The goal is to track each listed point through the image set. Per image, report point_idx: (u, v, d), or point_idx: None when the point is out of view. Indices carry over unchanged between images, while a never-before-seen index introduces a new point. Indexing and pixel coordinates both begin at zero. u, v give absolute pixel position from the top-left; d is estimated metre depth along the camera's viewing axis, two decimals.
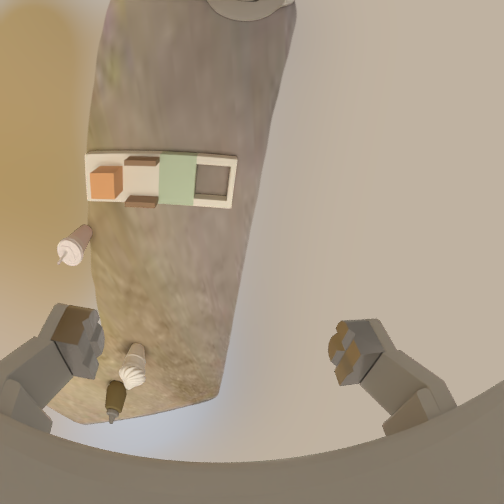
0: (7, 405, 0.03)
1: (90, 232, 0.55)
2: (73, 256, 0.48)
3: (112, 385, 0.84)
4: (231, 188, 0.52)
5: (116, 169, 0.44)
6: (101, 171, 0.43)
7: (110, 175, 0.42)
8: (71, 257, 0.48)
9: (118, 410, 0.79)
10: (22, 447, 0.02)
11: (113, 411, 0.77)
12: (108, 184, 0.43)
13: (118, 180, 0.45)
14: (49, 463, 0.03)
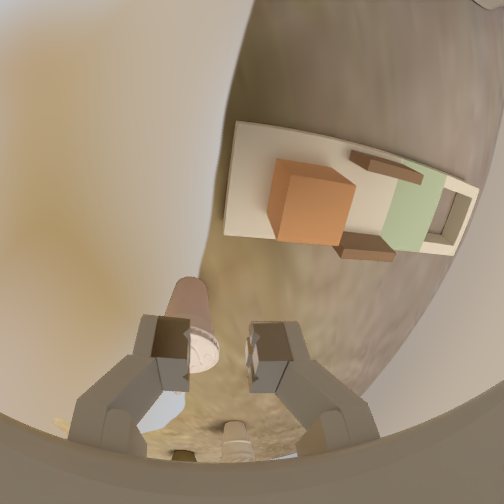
0: (118, 440, 0.04)
1: None
2: (197, 360, 0.24)
3: (180, 457, 0.60)
4: (463, 228, 0.28)
5: (338, 175, 0.20)
6: (313, 174, 0.19)
7: (347, 189, 0.18)
8: (191, 362, 0.24)
9: None
10: (22, 447, 0.02)
11: None
12: (335, 211, 0.19)
13: None
14: (48, 462, 0.03)
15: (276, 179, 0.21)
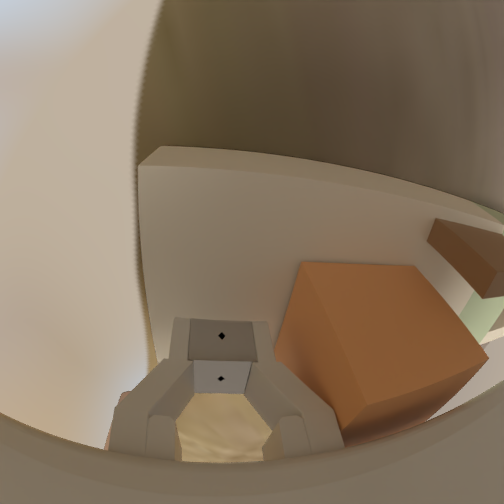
0: (163, 447, 0.04)
1: None
2: None
3: None
4: None
5: (444, 308, 0.07)
6: (412, 349, 0.06)
7: (472, 372, 0.05)
8: None
9: None
10: (22, 447, 0.02)
11: None
12: (431, 408, 0.06)
13: None
14: (49, 462, 0.03)
15: (301, 326, 0.08)
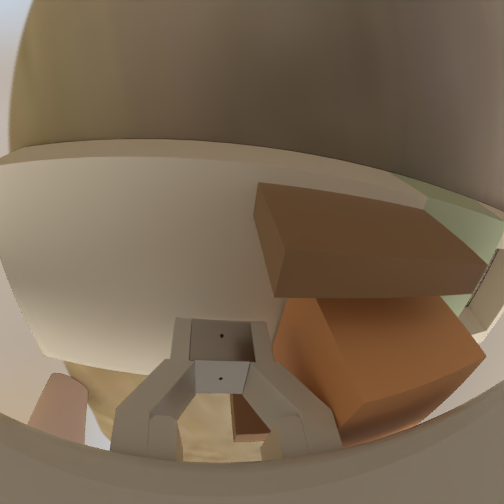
0: (165, 447, 0.04)
1: (83, 398, 0.16)
2: None
3: None
4: None
5: (441, 306, 0.07)
6: (409, 348, 0.06)
7: (469, 369, 0.05)
8: None
9: None
10: (22, 447, 0.02)
11: None
12: (429, 406, 0.06)
13: None
14: (49, 462, 0.03)
15: (298, 325, 0.08)
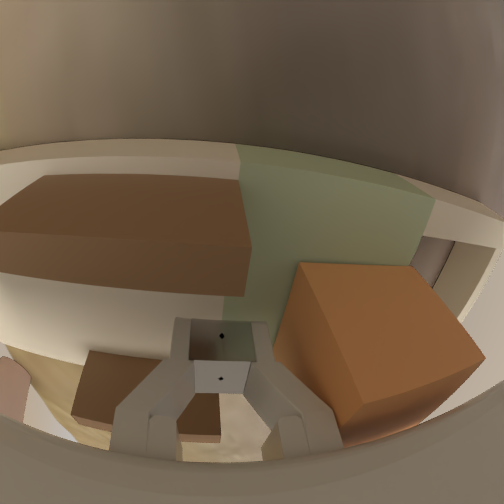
0: (164, 447, 0.04)
1: (24, 381, 0.15)
2: None
3: None
4: (466, 310, 0.12)
5: (441, 308, 0.07)
6: (409, 349, 0.06)
7: (469, 371, 0.05)
8: None
9: None
10: (22, 447, 0.02)
11: None
12: (428, 407, 0.06)
13: None
14: (48, 462, 0.03)
15: (299, 326, 0.08)
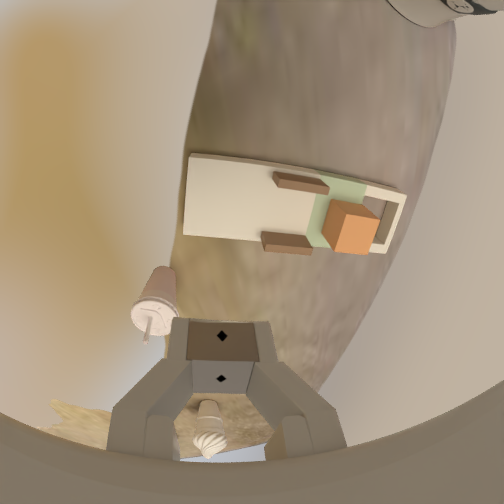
0: (161, 447, 0.04)
1: (175, 279, 0.40)
2: (162, 324, 0.33)
3: None
4: (393, 229, 0.38)
5: (368, 211, 0.33)
6: (356, 212, 0.31)
7: (375, 222, 0.31)
8: (158, 325, 0.33)
9: None
10: (22, 447, 0.02)
11: None
12: (367, 234, 0.32)
13: None
14: (49, 462, 0.03)
15: (331, 213, 0.34)
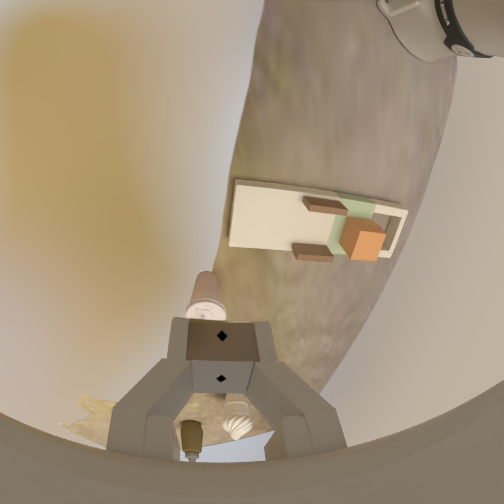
0: (161, 447, 0.04)
1: (217, 282, 0.49)
2: None
3: (188, 426, 0.79)
4: (396, 238, 0.46)
5: (377, 226, 0.41)
6: (368, 228, 0.39)
7: (382, 235, 0.39)
8: None
9: (198, 452, 0.73)
10: (22, 447, 0.02)
11: (194, 454, 0.71)
12: (376, 245, 0.40)
13: None
14: (48, 462, 0.03)
15: (348, 228, 0.42)
